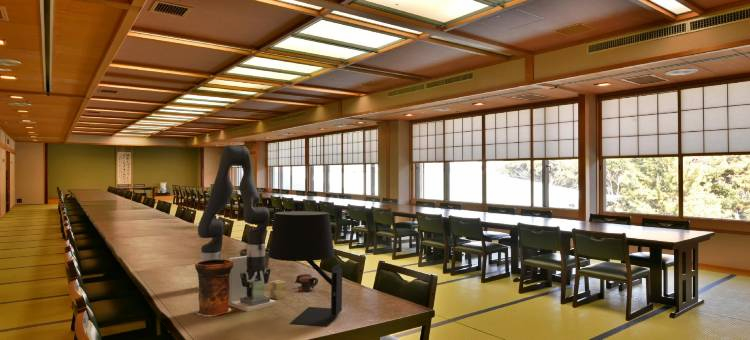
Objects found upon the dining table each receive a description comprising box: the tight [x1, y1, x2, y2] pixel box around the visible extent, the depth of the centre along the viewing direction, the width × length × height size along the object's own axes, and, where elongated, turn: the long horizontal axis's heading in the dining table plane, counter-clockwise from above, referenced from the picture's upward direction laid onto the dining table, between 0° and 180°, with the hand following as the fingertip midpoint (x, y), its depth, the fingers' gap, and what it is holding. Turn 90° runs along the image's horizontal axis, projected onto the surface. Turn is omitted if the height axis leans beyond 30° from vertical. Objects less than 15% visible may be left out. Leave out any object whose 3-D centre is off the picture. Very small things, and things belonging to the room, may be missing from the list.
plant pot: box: [238, 247, 270, 276], centre depth 231 cm, size 16×16×16 cm
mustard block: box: [269, 279, 287, 300], centre depth 201 cm, size 5×5×7 cm
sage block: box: [247, 279, 265, 300], centre depth 187 cm, size 5×5×7 cm
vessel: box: [194, 258, 233, 317], centre depth 178 cm, size 14×14×20 cm
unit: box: [228, 256, 277, 313], centre depth 189 cm, size 14×14×20 cm
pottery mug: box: [294, 273, 319, 292], centre depth 217 cm, size 12×10×8 cm
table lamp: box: [268, 210, 343, 328], centre depth 175 cm, size 26×28×40 cm
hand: (255, 295), depth 187 cm, fingers closed on sage block, 4 cm apart
